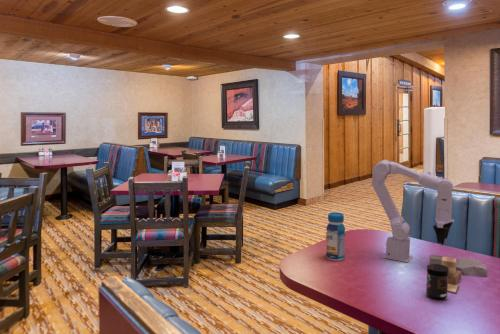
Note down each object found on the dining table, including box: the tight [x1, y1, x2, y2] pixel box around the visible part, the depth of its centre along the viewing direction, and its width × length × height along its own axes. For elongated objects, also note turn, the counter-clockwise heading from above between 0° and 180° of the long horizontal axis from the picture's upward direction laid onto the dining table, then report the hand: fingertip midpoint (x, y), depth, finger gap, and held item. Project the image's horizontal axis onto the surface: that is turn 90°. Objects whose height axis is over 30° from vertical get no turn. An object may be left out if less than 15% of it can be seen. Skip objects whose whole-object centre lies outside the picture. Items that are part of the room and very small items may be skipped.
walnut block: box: [448, 269, 462, 285], centre depth 146 cm, size 7×7×4 cm
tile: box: [447, 284, 460, 295], centre depth 139 cm, size 7×7×1 cm
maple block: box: [441, 256, 458, 275], centre depth 145 cm, size 4×4×5 cm
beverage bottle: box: [325, 212, 346, 262], centre depth 170 cm, size 8×8×20 cm
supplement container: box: [425, 264, 449, 301], centre depth 132 cm, size 7×7×10 cm
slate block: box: [428, 254, 443, 265], centre depth 156 cm, size 4×4×5 cm
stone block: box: [456, 257, 488, 277], centre depth 154 cm, size 12×5×10 cm
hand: (442, 240), depth 160 cm, fingers open, 7 cm apart
